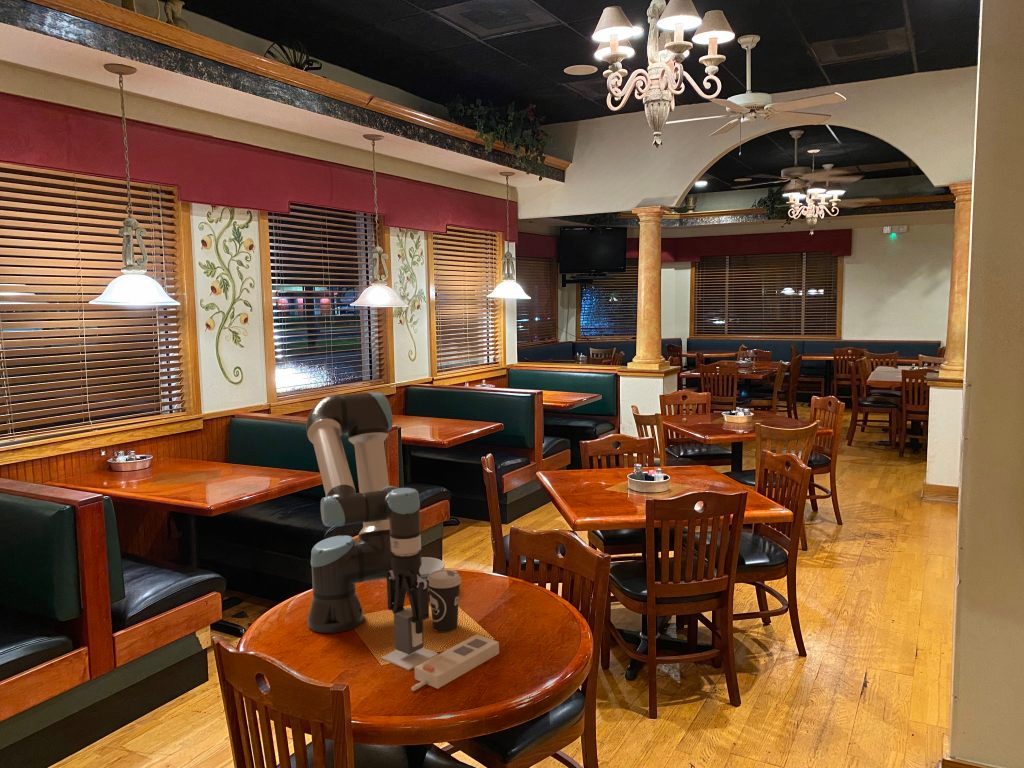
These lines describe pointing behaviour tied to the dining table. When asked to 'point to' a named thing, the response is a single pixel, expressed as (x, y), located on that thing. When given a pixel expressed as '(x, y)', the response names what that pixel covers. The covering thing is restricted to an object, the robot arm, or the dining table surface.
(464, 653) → the power strip
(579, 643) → the dining table surface
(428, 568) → the chinaware
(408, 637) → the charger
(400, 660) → the pad
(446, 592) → the coffee cup
